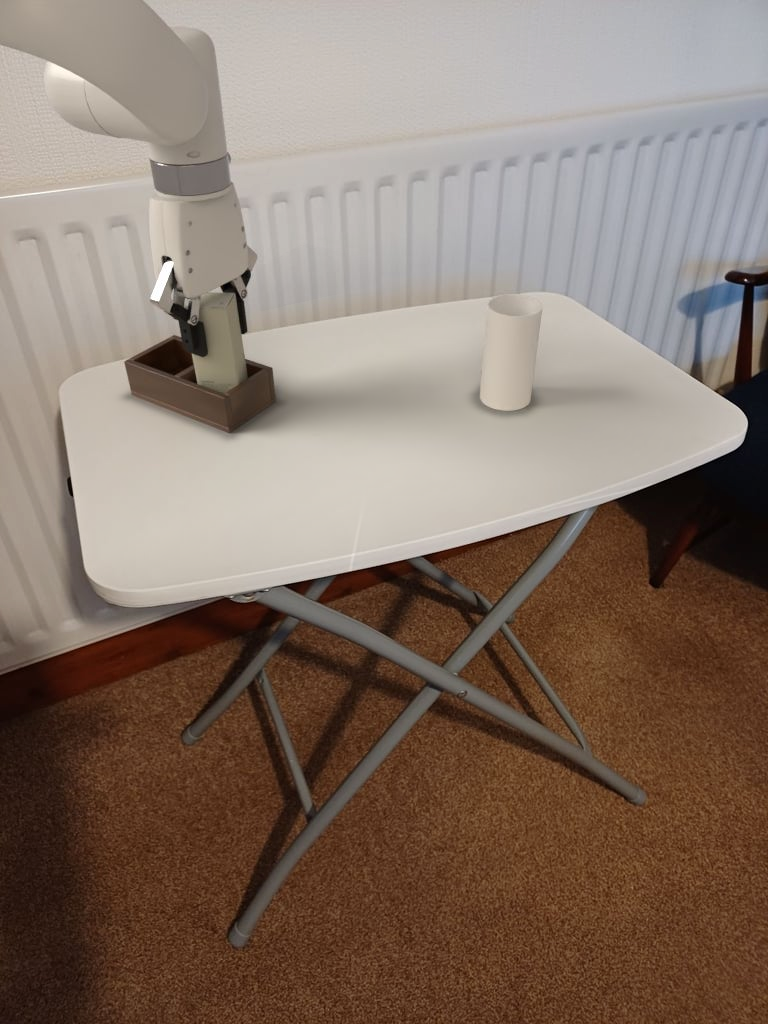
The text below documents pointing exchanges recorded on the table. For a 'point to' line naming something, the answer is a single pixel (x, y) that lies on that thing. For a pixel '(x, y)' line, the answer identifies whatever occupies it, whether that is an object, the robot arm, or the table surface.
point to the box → (220, 343)
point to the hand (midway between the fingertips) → (216, 340)
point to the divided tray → (197, 387)
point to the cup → (510, 351)
